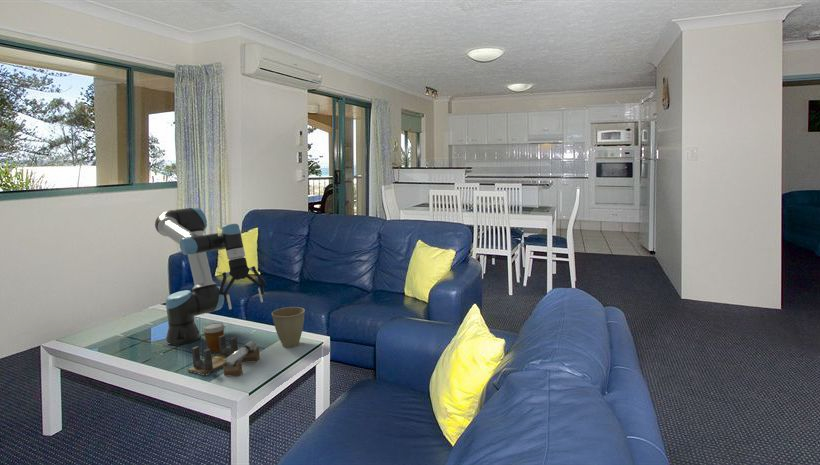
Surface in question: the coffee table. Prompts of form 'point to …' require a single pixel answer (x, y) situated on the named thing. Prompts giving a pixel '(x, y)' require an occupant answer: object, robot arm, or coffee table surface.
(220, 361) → the collar block
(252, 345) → the air tube
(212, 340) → the disposable coffee cup
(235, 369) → the tube stand
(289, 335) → the plant pot
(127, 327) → the coffee table surface
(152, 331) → the coffee table surface
